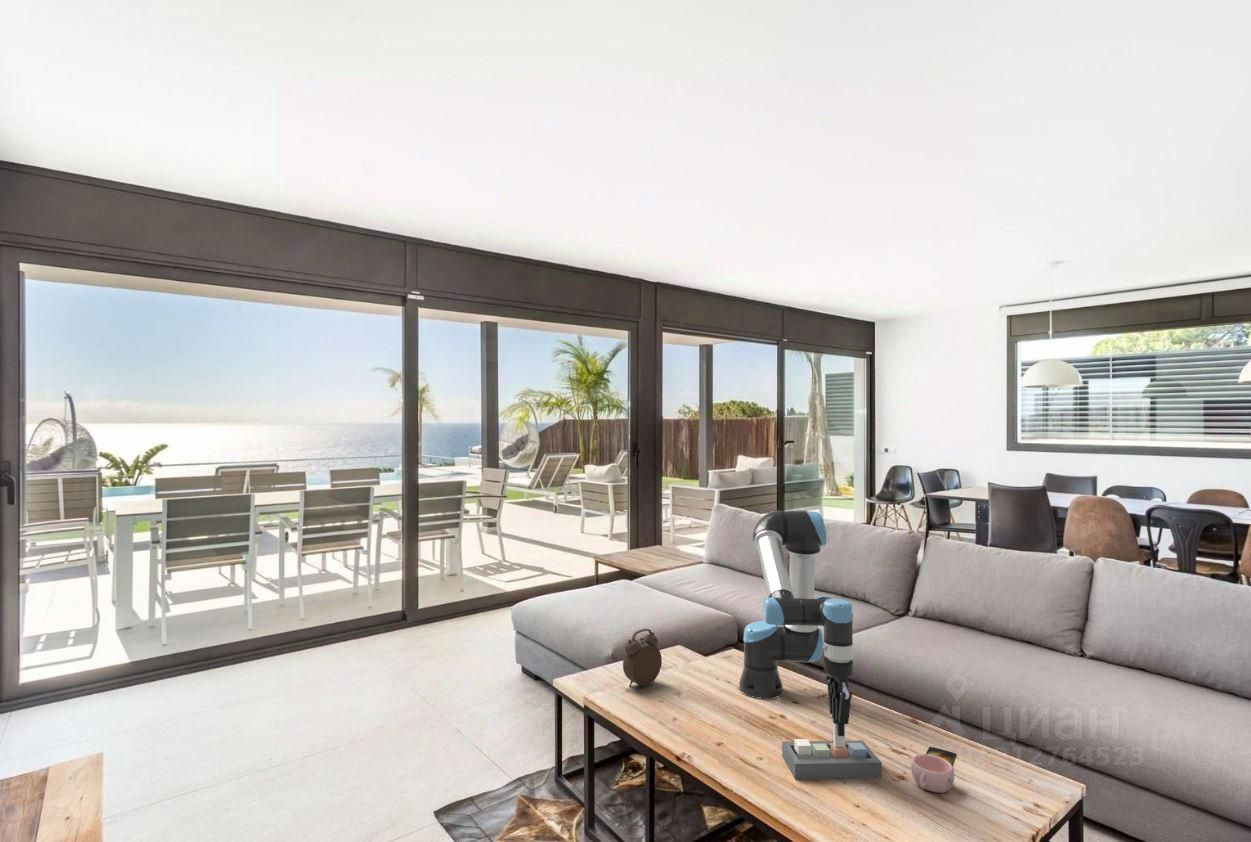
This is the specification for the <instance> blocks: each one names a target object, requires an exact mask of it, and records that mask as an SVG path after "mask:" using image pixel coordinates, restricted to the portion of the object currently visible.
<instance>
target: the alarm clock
mask: <svg viewBox="0 0 1251 842" xmlns="http://www.w3.org/2000/svg"><path fill="white" fill-rule="evenodd" d="M642 632H648V634H645V635H644V636H643V637H641V638H639V640H640V641H638V640H637V639H636V636H637V635H638V634H640V633H642ZM627 640H628V641H626V642H625V644H624V651H625V655H624V656H623V660H622V669H623V673H624V675H625V677H626V678H627V679H628V680H630V683H629V685H628V687H629V688H631V687H632V685H633V683H635V684H637V687H636V689H637V690H638V689H639V688H640V685H641V686H647V685H648V686H649V684H652V683H653V684H656V681H655V680H656V678H657V677H658V675H659V674H660V673H661V672H660V671H661V668H662V653H661V651H660V650H659V648H658V645H659V639H658V637H657V636H656V635H655V632H654V631H652V630H651V629H649V628H642V629H639V630H636V631H635V632H634V633H633V635H632V638H631V639H627Z"/></svg>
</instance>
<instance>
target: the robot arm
mask: <svg viewBox="0 0 1251 842" xmlns="http://www.w3.org/2000/svg"><path fill="white" fill-rule="evenodd" d="M757 521H758V522H756V525H755V526H754V529H753V532H752V541H753V546H754V549H756V551H758V557H759V561H760V566H761V571H762V576H763V580H764V586H765V591H766V594H767V597H766V598H764V599H763V603H762V612H763V613H762V615H763V620H759V621H753V622H750V623H749V624H746V626H745V627H744V629H743V639H742V640H743V670H742V673H741V675H740V678H739V683H738V688H740V690H741V691H742V692H744V693H746V694H748V695H750V696H749V697H751V696H754V697H753V698H755V697H761V698H760V699H765V698H767V699H774V697H775V698H777V696H778V697H780V696H781V694H782V695H783V693H784V685H783V683H782V679H781V677H780V673H779V670H778V669H779V668H778V662H790V663H795V662H796V663H805V664H806V663H812V662H813V663H816V662H817V661H818V660H819V659H820V658H821V655H822V653H823V656H824V657H823V670H824V672H825V673H826V674H827V675H825V679H826V680H825V681H826V685H827V692H828V693H827V695H828V707H829V714H830V715H831V718H832V727H833V728H832V732H833V733H832V735H833V737H832V739H833V740H832V741H833V745H834V746H835V747H845V741H846V725H849V721H850V712H851V711H850V710H851V701H852V697H853V694H852V692H851V691H849V690H848V689H849V681H848V677H851V676H852V675H853V674H854V661H853V659H854V642H853V637H854V636H853V630H854V629H853V626H854V625H853V618H854V613H853V606H852V603H851V602H850V601H849V600H845V599H843V598H832V597H830V596H828V595H820V596H817V597H815V586H816V585H815V581H816V579H815V578H816V556H817V555H818V554H819V553H820V552H821V547H824V546H826V544H827V531H826V525H825V522H824V519H823V516H822V514H820V512H817V511H811V510H810V511H809V510H774V511H770V512H768V513H766V514H764V515H763V516H762V517H761V518H760V519H759V520H757ZM782 546H785V550H786V551H787V552H788V553H789V567H788V568H789V569H788V568H787V566H786V565H787V563H786V561H785V557H784V553H783V548H782ZM788 572H789V573H788ZM820 627H822V628H823V632H822V630H821V628H820ZM740 690H739V691H740ZM741 691H740V692H741ZM742 692H741V693H742ZM744 693H743V694H744ZM748 695H747V696H748Z"/></svg>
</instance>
